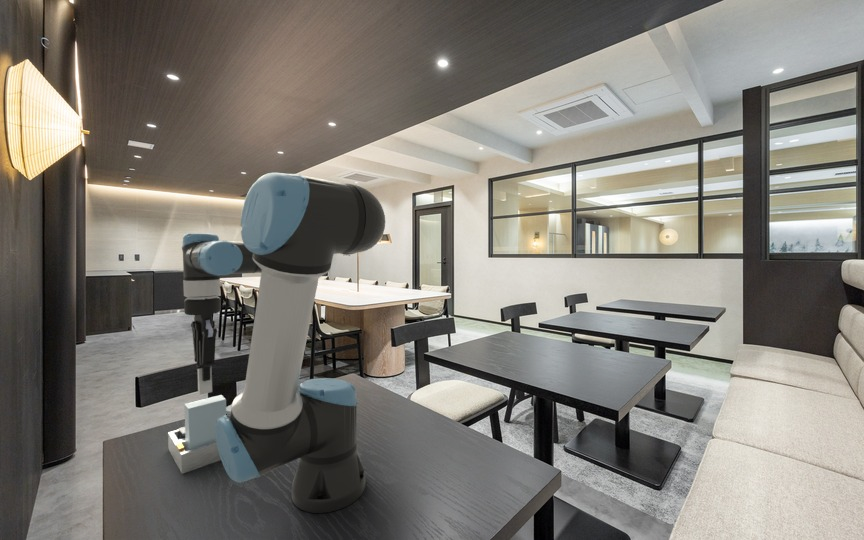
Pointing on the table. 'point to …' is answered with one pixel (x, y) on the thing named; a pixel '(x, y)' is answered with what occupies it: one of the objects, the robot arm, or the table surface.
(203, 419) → the block
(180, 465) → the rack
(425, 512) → the table surface
